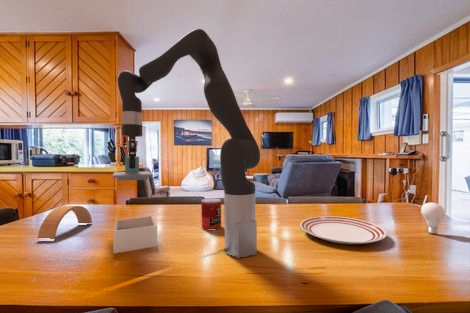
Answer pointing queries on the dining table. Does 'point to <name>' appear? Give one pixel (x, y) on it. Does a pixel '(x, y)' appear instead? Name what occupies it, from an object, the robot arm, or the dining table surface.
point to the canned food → (211, 213)
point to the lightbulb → (432, 216)
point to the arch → (55, 217)
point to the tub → (134, 234)
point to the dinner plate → (343, 230)
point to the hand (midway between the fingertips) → (132, 167)
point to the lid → (132, 172)
